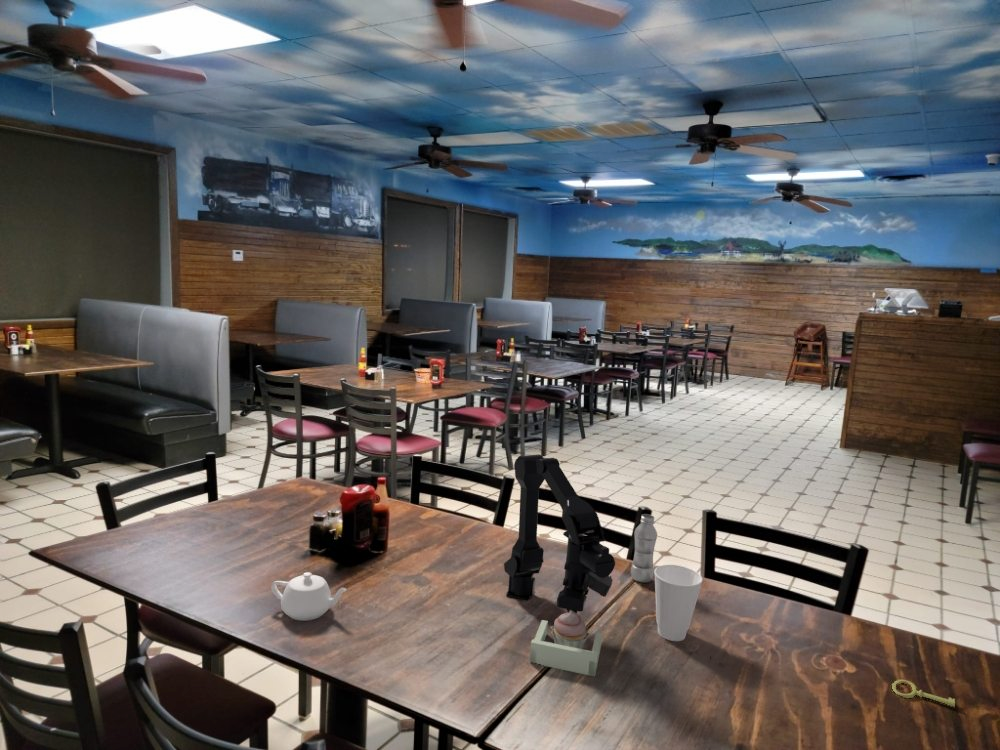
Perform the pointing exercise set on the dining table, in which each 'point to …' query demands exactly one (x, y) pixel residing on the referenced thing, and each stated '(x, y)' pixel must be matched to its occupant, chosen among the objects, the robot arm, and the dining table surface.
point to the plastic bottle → (644, 550)
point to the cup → (675, 599)
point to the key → (922, 694)
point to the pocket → (564, 653)
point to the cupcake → (570, 630)
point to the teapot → (306, 596)
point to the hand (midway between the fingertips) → (572, 619)
